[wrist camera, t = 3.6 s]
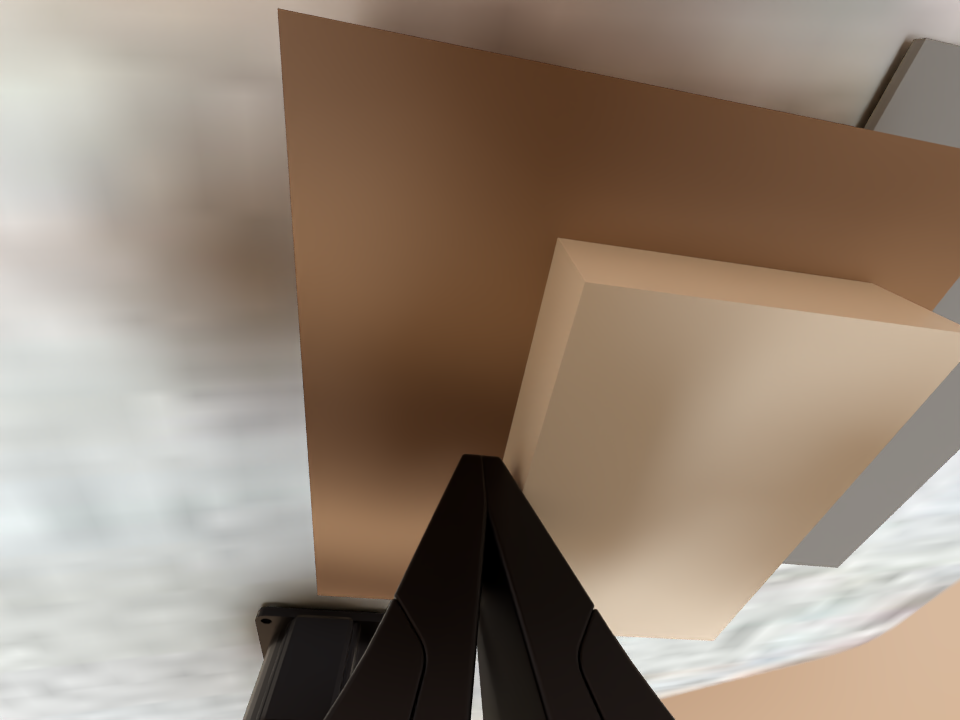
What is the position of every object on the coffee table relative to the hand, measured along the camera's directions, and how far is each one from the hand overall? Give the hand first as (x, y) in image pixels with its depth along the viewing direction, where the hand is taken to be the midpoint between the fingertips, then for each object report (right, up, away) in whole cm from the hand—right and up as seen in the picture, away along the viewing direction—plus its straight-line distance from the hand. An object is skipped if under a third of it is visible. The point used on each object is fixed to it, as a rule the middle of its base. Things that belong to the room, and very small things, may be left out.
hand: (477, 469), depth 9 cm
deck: (+2, +2, +5) cm, 6 cm away
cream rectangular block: (+4, 0, +1) cm, 4 cm away
